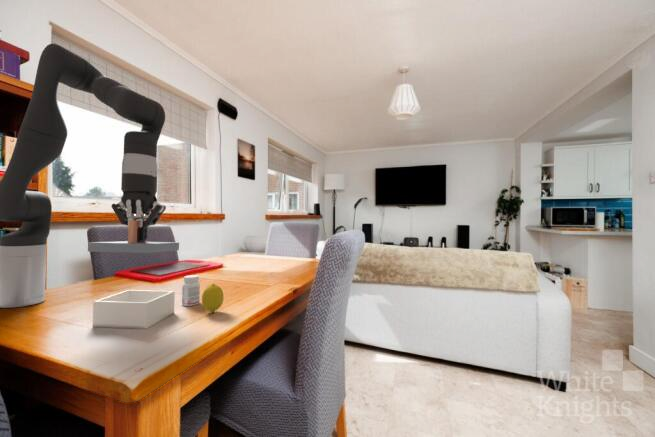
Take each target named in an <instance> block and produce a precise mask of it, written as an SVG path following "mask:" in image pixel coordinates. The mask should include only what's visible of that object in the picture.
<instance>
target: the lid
mask: <svg viewBox="0 0 655 437" xmlns="http://www.w3.org/2000/svg"><path fill="white" fill-rule="evenodd" d="M137 228H139V227H138V221H134V220H129V227H128V234H127V235H128V236H127V240H125V241H123V240H122V241H120V240H119V241H118V240H117V241H92V242H91V241H89V242H88V243H87V252H91V253H92V252H94V253H95V252H96V253H97V252H98V253H122V254H123V253H125V254H126V253H127V254H128V253H130V254H154V253H155V254H156V253H163V252H164V253H165V252H175V251H179V249H180V242H172V241H171V242H170V241H168V242H166V241H148V240H147V239H148V238H147V239H146V240H145V242H137ZM148 228H149V227H148ZM148 228H147V230H148Z"/></svg>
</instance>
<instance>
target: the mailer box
mask: <svg viewBox="0 0 655 437" xmlns="http://www.w3.org/2000/svg"><path fill="white" fill-rule="evenodd" d="M175 292H176V291H175V290H150V289H149V290H146V289H139V290H138V289H127V290H124V291H121V292H118V293H114V294H111V295H108V296H106V297H102V298H100V299H97V300H96V299H95V300H94V301H93V302H92V327H93V328H112V329H113V328H114V329H115V328H116V329H137V330H138V329H139V330H142V329H143V330H146V329H149V328H150V327H152V326H154V325H156V324H158V323H159V322H161V321H163V320H164V319H166V318H169V317H170V316H172V315H173V314H175V298H176V297H175V295H176V293H175Z"/></svg>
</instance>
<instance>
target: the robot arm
mask: <svg viewBox="0 0 655 437" xmlns="http://www.w3.org/2000/svg"><path fill="white" fill-rule="evenodd" d="M35 74H36V75H35V77H34V78H35V79H34V84H33V89H32V91H31V92H32V93H31V96H30V101H29V102H28V106H27V109H26V112H25V115H24V117H23V120H22V121H21V122H22V123H21V126H20V127H19V131H18V134H17V137H16V142H15V145H14V147H13V151H12V154H11V156H10V159H9V162H8V164H7V168H6V169H5V172H4V174H3V176H2V178H1V180H0V221H1V222H11V223H12V222H14V223H15V222H18V223H21V222H22V224H21V226H20V227H19V228H18V229H17V230H16V229H15V230H14V231H12V232H9V233H6V234H3V235H2V236H0V308H1V309H7V308H9V309H11V308H21V307H26V306H31V305H33V306H34V305H36V304H40V303H42V302H44V301H46V276H47V274H46V273H47V272H46V271H47V270H46V268H47V267H46V266H47V240H48V237H49V235H50V231H51V220H52V213H53V212H52V211H53V209H52V208H53V207H52V201H51V199H50V197H49V195H47V194H46V193H45V192H43V191H34V190H27V189H28V187H29V185H30V183H31V181H32V180H33V178H34V177H35V176H36V175H38V173H39V172H41V171H42V170H44V169H45V168H47V167H48V166H50V165H51V164H52V163H53V162H55V161H56V160H57V159H58V158H59V156H61V154H62V152H63V150H64V148H65V144H66V140H67V139H68V138H67V137H68V128H67V125H66V122H65V120H64V117H63V115H62V112H61V109H60V107H59V104H58V88H59V84H63V85H65V86H67V87H69V88H72V89H74V90H78V91H82V92H85V93H89V94H92V95H93V96H94V97H95V98H96V99H97V100H98V101H100V102H101V103H102V104H104V105H106V106H107V107H108V108H111V109H112V110H113V111H114V112H115V113H116V114H117V115H118V116H119V117H122V118H123V119H125V120H128V121H131V122H133V123H136V124H139V125H141V129H140V131H139V130H130V131H127V132H125V134H124V137H123V156H122V162H121V188H120V189H121V191H122V196H121V199H120V201H119V202H117V203H112V204H111V208H112V210H113V212H114V214H115V216H116V217H117V219H118V220H119V222H120V223H121V225H124V226H127V227H128V228H129V220H134V221H138V227H139V228H137V242H145V240H146V239H148V229H147V228H149V227H151V226H155V225H156V224H157V223H158V221H159V219H160V218H161V216H162V215H163V214H164V211H166V209H167V206H166V205H164V204H161V203H159V202H158V199H157V197H156V194H157V192H158V160H157V156H158V154H157V153H158V143H159V142H158V141H159V139H160V136H161V133H162V131H163V128H164V124H165V122H166V114H165V113H166V112H165V109H164V107H163V106H162V104H161V103H159V102H158V101H156V100H154V99H152V98H150V97H147V96H145V95H143V94H141V93H139V92H137V91H134V90H132V89H131V88H130V87H129V86H127V85H126V84H123V83H122V82H119V81H118V80H116V79H114V78H112V77H110V76H109V77H108V76H106V75H104V73H102V72H101V71H100V70H99V69H97V68H96V67H95V66H94V65H93V64H92V63H91V62H90V61H88V60H87V59H85V58H84V57H82V56H80V55H78V54H76V53H74V52H72V51H71V50H69V49H68V48H66V47H63V46H61V45H60V44H57V43H49V44H47V45H46V46H45V47H44V49H43V50H42V51H41V54H40V56H39V60H38V64H37V68H36V73H35Z"/></svg>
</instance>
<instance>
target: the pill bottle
mask: <svg viewBox="0 0 655 437" xmlns="http://www.w3.org/2000/svg"><path fill="white" fill-rule="evenodd" d="M199 279H200V277H199V275H198V274H190V275H185V276H184V277H183V284H182V285H181V286H182V288H181V290H182V291H181V292H182V296H181V297H182V298H181V304H182V306H183V307H184V306H185V307H192V306H196V305H199V304H200V301H201V300H200V296H201V295H200V292H201V291H200V290H201V283H200V281H199Z"/></svg>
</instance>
